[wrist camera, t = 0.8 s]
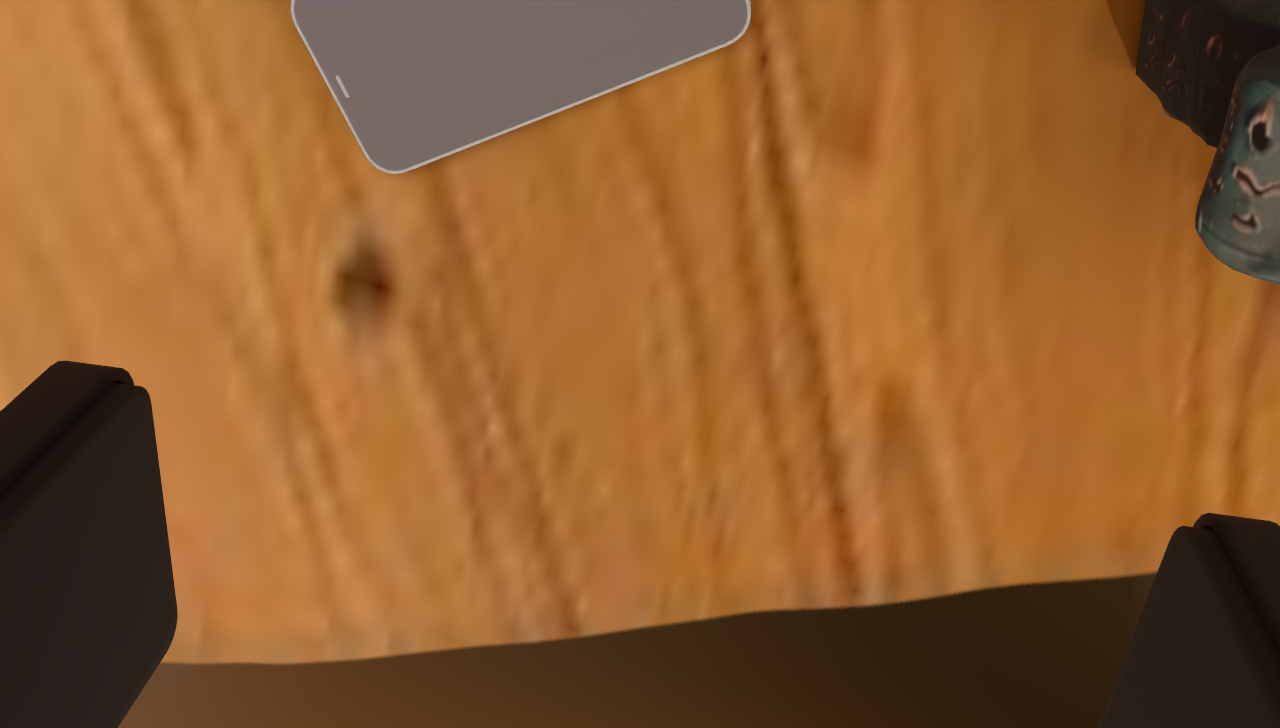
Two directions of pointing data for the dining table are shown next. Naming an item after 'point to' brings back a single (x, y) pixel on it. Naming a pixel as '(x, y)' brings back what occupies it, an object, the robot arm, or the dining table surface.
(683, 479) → the dining table surface
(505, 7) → the smartphone
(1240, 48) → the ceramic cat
